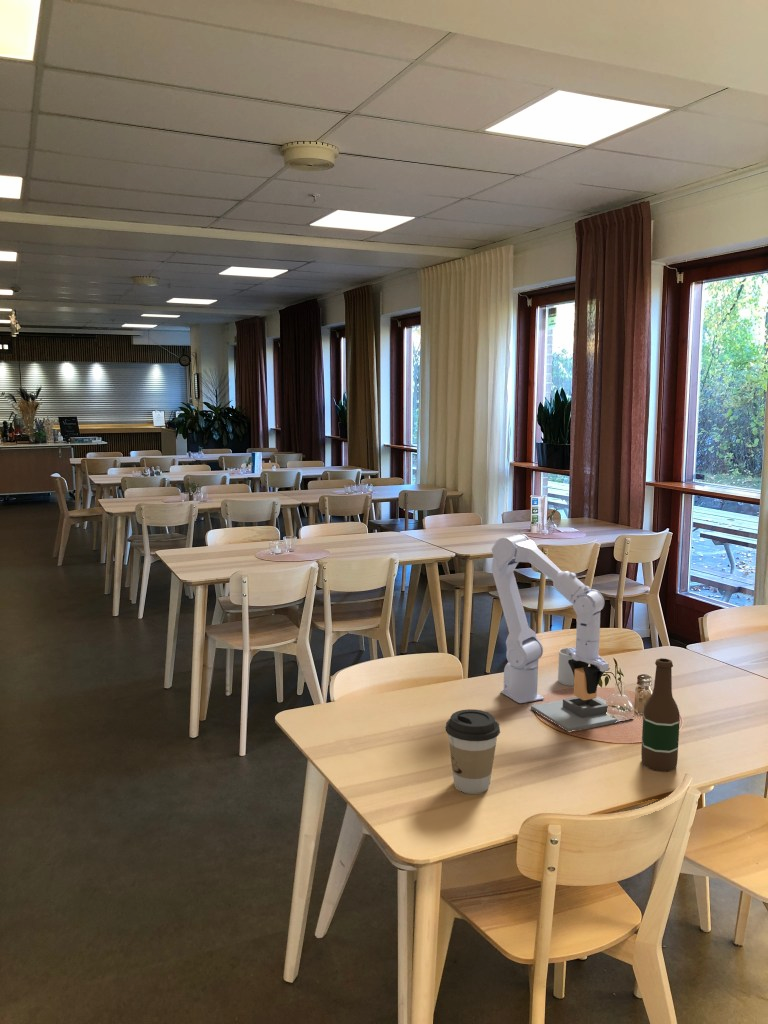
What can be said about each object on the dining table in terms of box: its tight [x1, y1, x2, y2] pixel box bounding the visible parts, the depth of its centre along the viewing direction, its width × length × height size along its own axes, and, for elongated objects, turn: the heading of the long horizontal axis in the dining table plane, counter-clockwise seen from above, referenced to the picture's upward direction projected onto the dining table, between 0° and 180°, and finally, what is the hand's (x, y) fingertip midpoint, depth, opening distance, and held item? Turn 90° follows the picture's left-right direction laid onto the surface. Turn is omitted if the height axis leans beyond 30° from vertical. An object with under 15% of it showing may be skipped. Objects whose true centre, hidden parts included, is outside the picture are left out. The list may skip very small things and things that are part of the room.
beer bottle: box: [640, 657, 681, 773], centre depth 178 cm, size 8×8×24 cm
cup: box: [557, 647, 574, 687], centre depth 229 cm, size 7×10×9 cm
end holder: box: [530, 696, 635, 732], centre depth 208 cm, size 16×20×3 cm
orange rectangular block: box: [573, 668, 598, 700], centre depth 207 cm, size 4×4×7 cm
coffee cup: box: [445, 708, 501, 795], centre depth 169 cm, size 11×11×15 cm
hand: (585, 690), depth 207 cm, fingers closed on orange rectangular block, 4 cm apart
